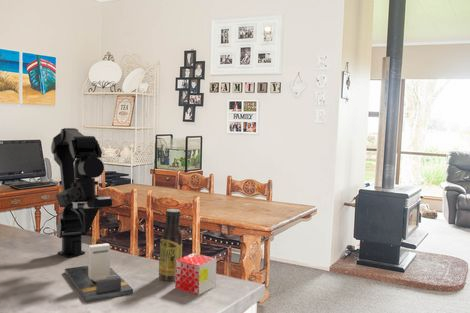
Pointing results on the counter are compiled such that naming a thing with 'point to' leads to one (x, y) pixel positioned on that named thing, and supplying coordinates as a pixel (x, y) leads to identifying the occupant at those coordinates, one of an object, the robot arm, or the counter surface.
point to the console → (97, 284)
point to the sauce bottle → (170, 246)
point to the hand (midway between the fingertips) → (86, 231)
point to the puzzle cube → (195, 273)
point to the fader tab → (99, 262)
